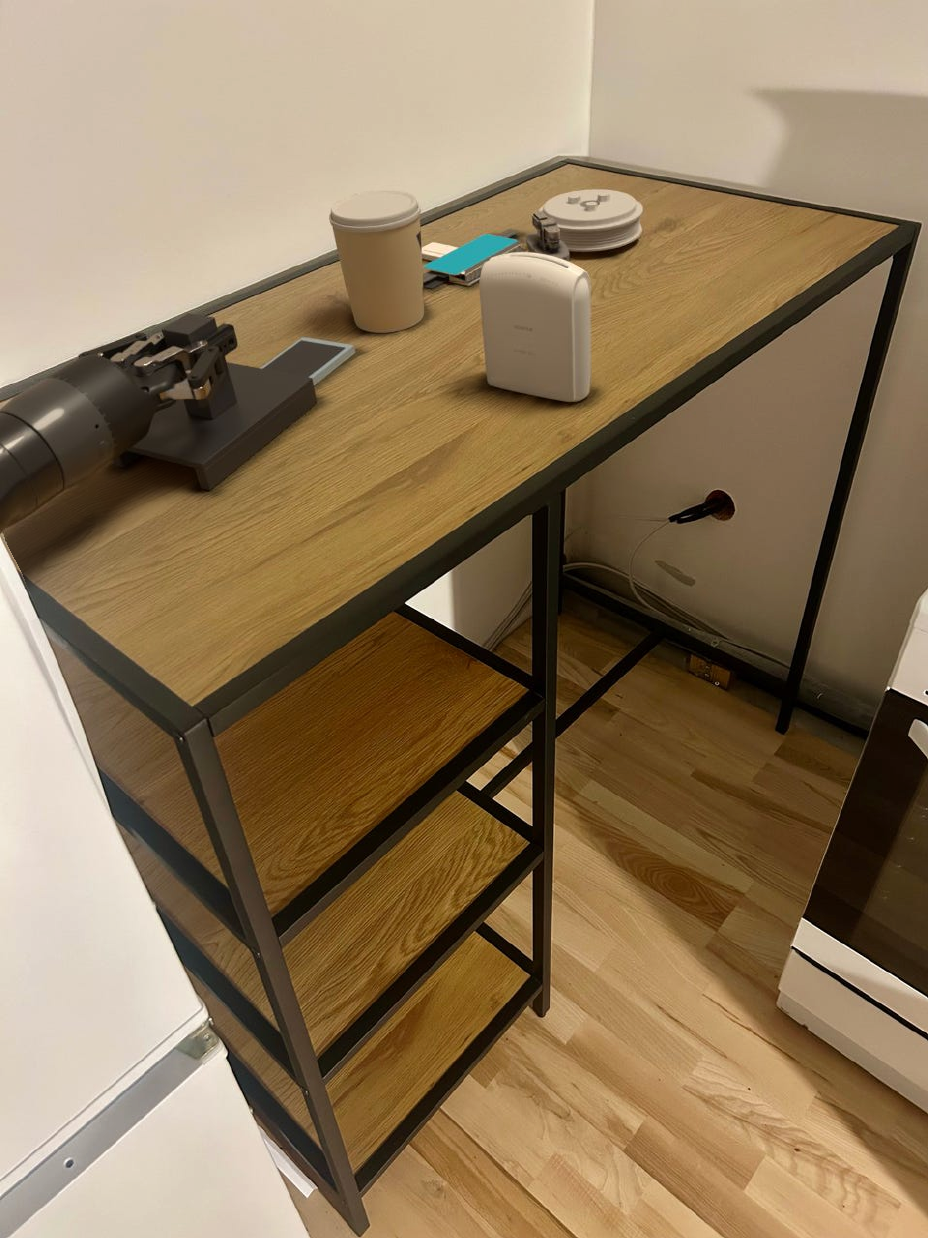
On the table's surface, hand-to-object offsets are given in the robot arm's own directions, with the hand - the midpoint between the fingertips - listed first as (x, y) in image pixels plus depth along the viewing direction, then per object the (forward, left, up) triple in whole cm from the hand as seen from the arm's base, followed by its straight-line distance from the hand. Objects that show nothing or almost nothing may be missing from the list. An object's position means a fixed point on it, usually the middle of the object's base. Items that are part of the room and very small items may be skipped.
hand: (215, 331), depth 81 cm
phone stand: (+33, +25, -9) cm, 42 cm away
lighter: (+35, +5, -9) cm, 36 cm away
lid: (+49, +22, -9) cm, 54 cm away
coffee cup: (+20, +14, -9) cm, 26 cm away
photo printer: (+27, -9, -9) cm, 30 cm away
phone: (+7, +6, -9) cm, 12 cm away
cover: (-2, -2, -9) cm, 9 cm away
